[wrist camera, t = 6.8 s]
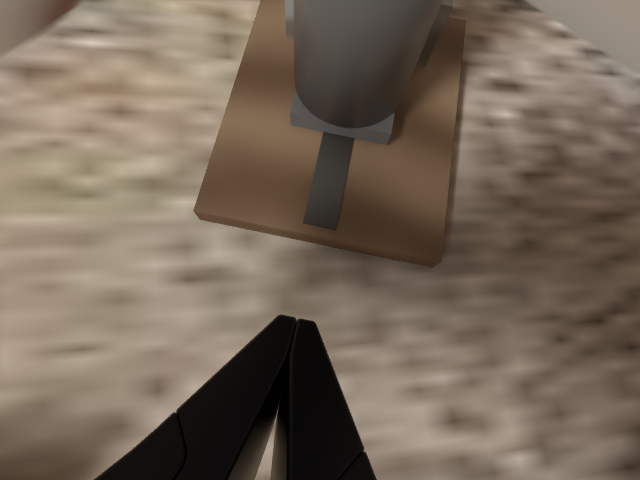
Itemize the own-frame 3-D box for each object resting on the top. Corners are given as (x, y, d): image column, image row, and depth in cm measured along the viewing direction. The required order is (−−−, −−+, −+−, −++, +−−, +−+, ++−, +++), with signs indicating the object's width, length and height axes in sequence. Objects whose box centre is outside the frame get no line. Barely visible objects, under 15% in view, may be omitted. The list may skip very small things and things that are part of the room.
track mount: (432, 267, 19) (478, 238, 14) (199, 219, 19) (166, 174, 14) (457, 37, 23) (498, -45, 18) (269, -2, 23) (261, -94, 18)
